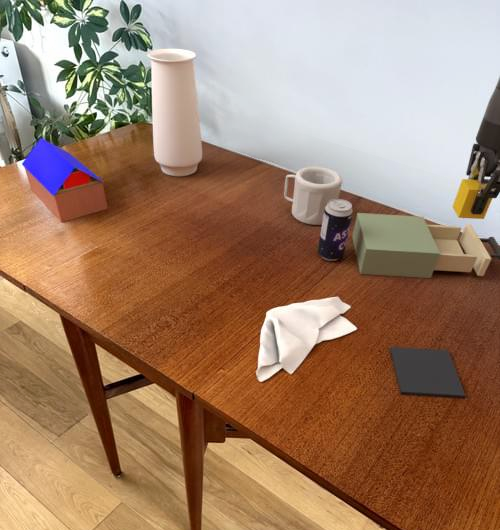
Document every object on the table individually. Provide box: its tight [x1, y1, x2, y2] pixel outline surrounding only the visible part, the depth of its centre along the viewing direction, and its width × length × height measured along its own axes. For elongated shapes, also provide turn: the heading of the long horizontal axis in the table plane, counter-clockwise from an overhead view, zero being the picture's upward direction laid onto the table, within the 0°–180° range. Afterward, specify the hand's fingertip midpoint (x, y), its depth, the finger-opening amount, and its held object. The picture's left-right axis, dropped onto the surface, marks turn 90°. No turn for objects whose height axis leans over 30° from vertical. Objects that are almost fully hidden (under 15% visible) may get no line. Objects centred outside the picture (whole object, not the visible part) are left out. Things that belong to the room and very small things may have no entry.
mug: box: [283, 166, 343, 226], centre depth 110 cm, size 14×11×10 cm
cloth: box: [255, 296, 358, 383], centre depth 81 cm, size 26×14×2 cm, turn 130°
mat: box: [389, 346, 466, 399], centre depth 76 cm, size 10×10×1 cm
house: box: [21, 137, 108, 223], centre depth 110 cm, size 12×20×12 cm, turn 38°
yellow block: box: [452, 178, 495, 220], centre depth 91 cm, size 5×4×6 cm
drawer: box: [426, 223, 500, 277], centre depth 99 cm, size 18×13×4 cm
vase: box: [147, 48, 203, 177], centre depth 119 cm, size 13×13×28 cm
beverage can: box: [317, 198, 354, 262], centre depth 96 cm, size 6×6×12 cm
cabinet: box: [351, 212, 440, 279], centre depth 99 cm, size 15×15×6 cm
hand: (472, 206), depth 92 cm, fingers closed on yellow block, 4 cm apart
